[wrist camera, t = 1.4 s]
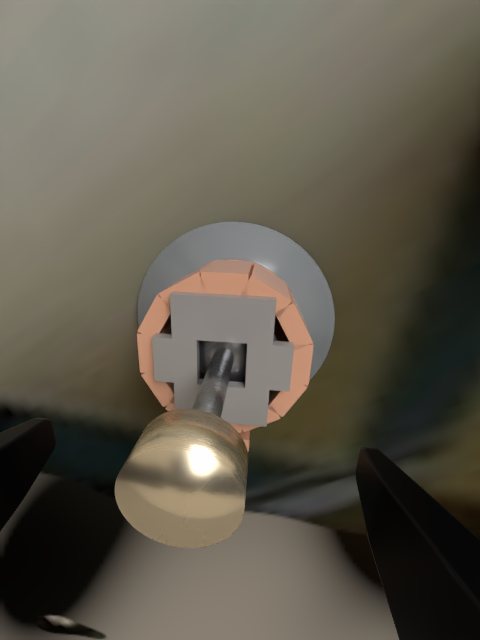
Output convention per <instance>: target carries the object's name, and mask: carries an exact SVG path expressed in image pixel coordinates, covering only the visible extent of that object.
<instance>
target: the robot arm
mask: <svg viewBox="0 0 480 640" xmlns="http://www.w3.org/2000/svg"><path fill="white" fill-rule="evenodd" d="M55 444H56V440H55V435H54V430H53V425H52V422H51V420H50V419H46V418H34V419H31V420H29V421H26V422H24V423H22V424H19V425H17V426H15V427H12V428H10V429H8V430H5V431H3V432H1V433H0V531H1V530H2V528H3V527H4V525H5V524H6V523H7V522H8V520H9V519H10V517H11V516H12V515H13V513H14V512H15V511H16V509H17V508H18V506H19V505H20V503H21V502H22V501H23V499H24V497H25V496H26V494H27V493H28V491H29V489H30V488H31V486H32V484H33V483H34V481H35V480H36V478H37V476H38V475H39V473H40V471H41V470H42V468H43V467H44V465H45V463H46V462H47V460H48V458H49V457H50V455H51V453H52V452H53V450H54V448H55ZM356 481H357V486H358V491H359V495H360V500H361V505H362V510H363V515H364V520H365V525H366V529H367V534H368V538H369V542H370V546H371V549H372V553H373V556H374V559H375V562H376V566H377V569H378V572H379V575H380V578H381V582H382V585H383V588H384V591H385V595H386V598H387V601H388V604H389V608H390V611H391V614H392V617H393V620H394V624H395V627H396V630H397V633H398V637H399V640H480V539H479V538H478V537H477V536H476V535H475V534H473V533H472V532H471V531H470V530H469V529H468V528H467V527H465V526H464V525H463V524H462V523H461V522H460V521H459V520H458V519H456V518H455V517H454V516H453V515H452V514H451V513H450V512H448V511H447V510H446V509H445V508H444V507H443V506H442V505H441V504H439V503H438V502H437V501H436V500H435V499H434V498H433V497H432V496H430V495H429V494H428V493H427V492H426V491H425V490H424V489H422V488H421V487H420V486H419V485H418V484H417V483H416V482H415V481H413V480H412V479H411V478H410V477H409V476H408V475H407V474H406V473H404V472H403V471H402V470H401V469H400V468H399V467H398V466H396V465H395V464H394V463H393V462H392V461H391V460H390V459H389V458H387V457H386V456H385V455H384V454H383V453H382V452H381V451H379V450H378V449H375V448H366V447H363V448H362V449H361V450H360V453H359V458H358V463H357V468H356Z"/></svg>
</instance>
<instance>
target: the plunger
mask: <svg viewBox="0 0 480 640" xmlns="http://www.w3.org/2000/svg"><path fill="white" fill-rule="evenodd" d="M273 341H277V338H276V336H275V333H274V338H273ZM246 358H247V344H246V343H231V342H216V341H201V340H199V367H200V379H203V382H202V385H201V387H200V390H199V392H198V395H197V397H196V400H195V402H194V405H193V407H192V409H177V410H172V411H168V412H166V413H163V414H161V415H159V416H157V417H156V418H155V419H153V420H152V421H151V422H150V423H149V424H148V425H147V427H146V428H145V429H144V431H143V433H142V435H141V436H140V438H139V440H138V441H137V443H136V445H135V447H134V448H133V450H132V452H131V453H130V455H129V457H128V459H127V460H126V462H125V464H124V465H123V467H122V469H121V471H120V472H119V474H118V476H117V479H116V483H115V498H116V502H117V504H118V507H119V509H120V511H121V513H122V514H123V516H124V517H125V518H126V520H127V521H128V522H129V523H130V524H131V525H132V526H133V527H134V528H135V529H136V530H138V531H139V532H141V533H142V534H143V535H145V536H147V537H149V538H150V539H153V540H155V541H157V542H160V543H163V544H165V545H169V546H174V547H180V548H200V547H207V546H211V545H214V544H217V543H219V542H221V541H223V540H225V539H226V538H228V537H229V536H230V535H231V534H233V533H234V532H235V531H236V529H237V528H238V527H239V525H240V523H241V521H242V519H243V516H244V509H245V496H246V483H247V469H248V452H247V448H246V445H245V442H244V441H243V439H242V437H241V435H240V434H239V433H238V431H237V430H236V429H235V428H234V427H233V426H232V425H230V424H229V423H228V422H227V421H225V420H224V419H222V418H221V414H222V410H223V406H224V401H225V397H226V393H227V388H228V384H229V381H234V382H245V380H246Z"/></svg>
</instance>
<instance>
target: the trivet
mask: <svg viewBox="0 0 480 640" xmlns="http://www.w3.org/2000/svg"><path fill="white" fill-rule="evenodd" d="M225 259H239V260H246V261H253V262H254V263H255V262H256V263H257V264H259V265H262V266H264V267H265V268H267V269H269V270H271V271H272V272H273V273H275V274H276V275H277V276H278V277H279V278H280V279H282V280H284V281H285V282H286V284H288V286H289V288H290V290H291V292H292V294H293V296H294V298H295V300H296V303H297V305H298V307H299V309H300V311H301V313H302V315H303V318H304V320H305V323H306V325H307V328H308V331H309V333H310V336H311V338H312V341H313V345H314V346H313V354H312V362H311V370H310V378H309V380H310V379H311V378H312V377H313V376H314V375H315V374H316V372H317V371H318V370H319V368H320V367H321V365H322V363H323V362H324V360H325V358H326V356H327V354H328V351H329V348H330V346H331V342H332V338H333V334H334V324H335V314H334V304H333V299H332V295H331V292H330V289H329V286H328V283H327V281H326V279H325V277H324V275H323V273H322V271H321V270H320V268H319V267H318V265H317V264H316V263H315V261H314V260H313V259H312V257H311V256H310V255H309V254H308V253H307V252H306V251H305V250H304V249H303V248H302V247H300V246H299V245H298V244H296V243H295V242H294V241H293V240H291V239H290V238H288V237H286V236H285V235H283V234H281V233H279V232H277V231H275V230H273V229H270V228H268V227H265V226H261V225H257V224H253V223H246V222H220V223H214V224H209V225H205V226H202V227H199V228H196V229H194V230H192V231H190V232H187V233H185V234H183V235H182V236H180V237H179V238H177V239H176V240H174V241H173V242H171V243H170V244H169V245H168V246H167V247H166V248H165V249H164V250H163V251H162V252H161V253H160V254H159V255H158V257H157V258H156V259H155V260H154V261H153V263H152V265H151V266H150V268H149V270H148V271H147V273H146V276H145V278H144V281H143V283H142V286H141V290H140V294H139V300H138V325H139V327H140V325H141V323H142V322H143V320H144V318H145V316H146V314H147V312H148V310H149V309H150V307H151V305H152V303H153V301H154V299H155V297H156V296H157V295H158V294H159V293H160V292H161V291H163V290H164V289H166V288H167V287H169V286H170V285H172V284H173V283H175V282H176V281H178V280H179V279H181V278H182V277H184V276H185V275H187V274H189V273H191V272H193V271H195V270H197V269H198V268H200V267H202V266H204V265H206V264H208V263H209V262H211V261H213V260H214V261H215V260H225Z"/></svg>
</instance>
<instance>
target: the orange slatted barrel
mask: <svg viewBox="0 0 480 640" xmlns="http://www.w3.org/2000/svg"><path fill="white" fill-rule="evenodd" d="M274 333H275V336H276V338H277V341H273V338H274ZM199 340H201V341H216V342H231V343H246V344H247V358H246V380H245V382H234V381H229V384H228V388H227V393H226V397H225V401H224V406H223V410H222V414H221V418H222V419H224V420H225V421H227V422H228V423H229V424H230V425H232V426H233V427H234V428H235V429H236V430H237V431H238V433H239V434H240V435H241V437H242V439H243V441H244V442H245V445H246V448H247V452H249V440H250V430H252V429H254V428H257V427H260V426H265V427H267V424H268V423H270V422H273V421H275V420H278V419H280V416H282V417H283V416H284V415H285V414H286V413H287V411H288V410H289V409H290V408H291V407H292V405H293V404H294V403H295V402H296V401H297V399H298V398H299V397H300V396H301V395H302V393H303V392H304V391H305V390H306V389H307V385H309V378H310V370H311V362H312V354H313V346H314V345H313V341H312V338H311V336H310V333H309V331H308V328H307V325H306V323H305V320H304V318H303V315H302V313H301V311H300V309H299V307H298V305H297V303H296V300H295V298H294V296H293V294H292V292H291V290H290V288H289V286H288V284H286V282H285V281H284V280H282V279H280V278H279V277H278V276H277V275H276V274H275V273H273V272H272V271H271V270H269V269H267V268H265V267H264V266H262V265H259V264H257V263H256V262H255V263H254V262H253V261H246V260H239V259H225V260H215V261H214V260H213V261H211V262H209V263H208V264H206V265H204V266H202V267H200V268H198V269H197V270H195V271H193V272H191V273H189V274H187V275H185V276H184V277H182V278H181V279H179V280H178V281H176V282H175V283H173V284H172V285H170V286H169V287H167V288H166V289H164V290H163V291H161V292H160V293H159V294H158V295H157V296H156V297H155V299H154V301H153V303H152V305H151V307H150V309H149V310H148V312H147V314H146V316H145V318H144V320H143V322H142V323H141V325H140V327H139V329H138V333H137V342H138V354H139V365H140V373H142V375H141V376H142V377H143V379H144V380H145V382H146V383H147V384H148V386H149V387H150V389H151V390H152V392H153V393H154V395H155V396H156V398H157V399H158V400H159V402H160V403H161V405H162V406H163V407H165V406H167V407H166V408H165V409H166V410H168V411H172V410H177V409H192V407H193V405H194V402H195V400H196V397H197V395H198V392H199V390H200V387H201V385H202V382H203V379H200V367H199Z"/></svg>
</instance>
